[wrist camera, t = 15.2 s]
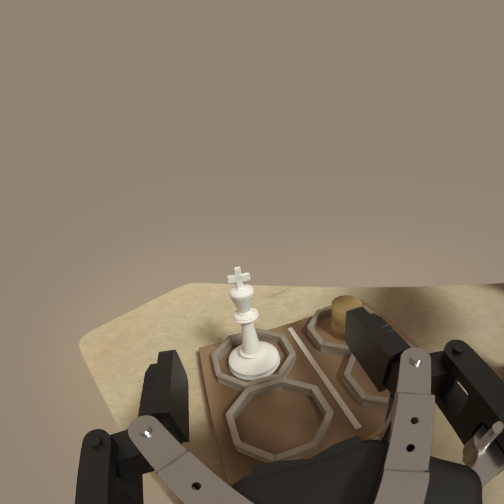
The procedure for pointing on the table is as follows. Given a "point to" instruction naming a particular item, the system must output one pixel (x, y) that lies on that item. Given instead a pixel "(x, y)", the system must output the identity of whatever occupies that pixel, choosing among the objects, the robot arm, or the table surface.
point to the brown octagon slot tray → (293, 393)
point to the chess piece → (249, 335)
